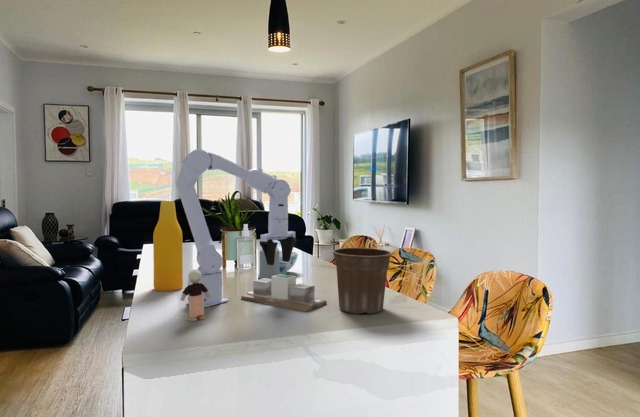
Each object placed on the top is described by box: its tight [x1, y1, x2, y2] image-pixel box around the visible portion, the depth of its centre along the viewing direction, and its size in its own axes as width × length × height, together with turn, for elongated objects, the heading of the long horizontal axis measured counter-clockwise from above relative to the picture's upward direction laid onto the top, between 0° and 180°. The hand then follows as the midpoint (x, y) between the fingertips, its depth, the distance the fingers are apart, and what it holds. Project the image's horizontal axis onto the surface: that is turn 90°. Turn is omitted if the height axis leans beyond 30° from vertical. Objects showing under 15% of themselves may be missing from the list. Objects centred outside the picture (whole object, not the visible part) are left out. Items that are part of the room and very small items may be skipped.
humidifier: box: [257, 213, 280, 280], centre depth 154 cm, size 8×8×25 cm
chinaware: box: [279, 250, 299, 275], centre depth 179 cm, size 15×15×8 cm
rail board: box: [240, 278, 327, 312], centre depth 133 cm, size 10×24×6 cm, turn 56°
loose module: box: [271, 274, 297, 299], centre depth 133 cm, size 4×6×6 cm, turn 56°
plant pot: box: [332, 247, 393, 315], centre depth 125 cm, size 16×16×16 cm
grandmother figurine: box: [180, 269, 210, 322], centre depth 115 cm, size 8×4×13 cm, turn 141°
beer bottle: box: [152, 200, 184, 292], centre depth 150 cm, size 9×9×29 cm
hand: (278, 263), depth 139 cm, fingers open, 7 cm apart
